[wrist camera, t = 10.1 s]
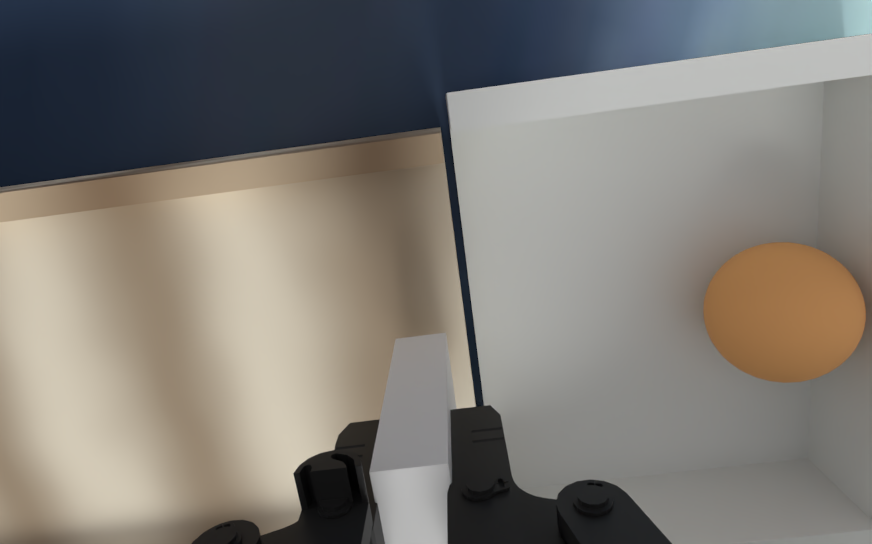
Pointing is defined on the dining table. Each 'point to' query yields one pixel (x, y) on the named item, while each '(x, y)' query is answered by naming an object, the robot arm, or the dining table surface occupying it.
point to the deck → (210, 331)
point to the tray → (670, 283)
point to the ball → (784, 312)
